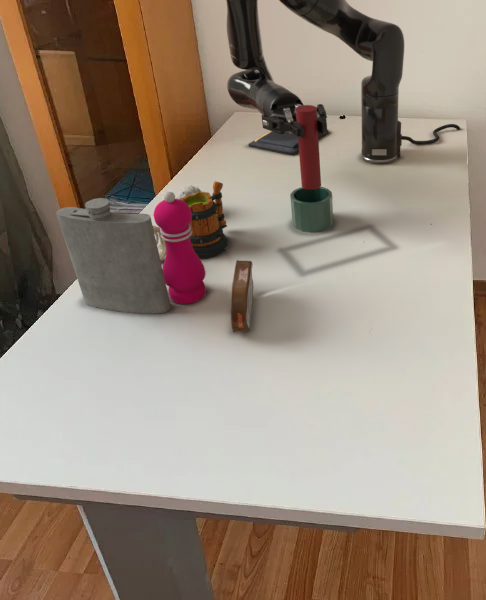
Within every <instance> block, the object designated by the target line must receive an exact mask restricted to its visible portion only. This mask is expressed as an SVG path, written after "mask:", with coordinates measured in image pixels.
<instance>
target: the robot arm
mask: <svg viewBox="0 0 486 600" xmlns="http://www.w3.org/2000/svg"><path fill="white" fill-rule="evenodd" d="M278 1H279V2H280V3H281V4H282V5H283V6H284V7H285V8H286V9H288V10H289V11H291V12H292V13H293V14H295V15H296V16H298V17H299V18H301V19H302V20H304V21H306V22H307V23H309V24H310V25H312V26H314V27H316V28H318V29H320V30H322V31H323V32H326V33H328V34H330V35H332V36H334V37H335V38H338V39H339V40H341V41H342V42H343V43H344V44H346V45H347V46H348V47H349V48H350V49H351V50H353V51H354V52H355V53H356V54H357V55H359V56H360V57H361V58H363V59H365V60H366V61H370V62H372V66H371V75H367V76H365V77H363V79H362V80H361V84H360V85H361V86H360V87H361V88H360V89H361V91H360V93H361V95H360V97H361V100H360V102H361V160H362V161H364V162H365V163H366V162H367V163H369V164H375V165H385V164H390V163H393V162H395V161H396V160H397V159H401V148H402V141H408V142H410V143H411V145H420V146H421V145H430V144H435V143H437V142H439V140H440V135H439V134H438V133H439V132H441V131H442V130H445V129H449V128H453V129H456V130H457V131H461V130H462V128H461V127H460V126H459V125H458V124H455V123H447V124H444V125H441V126H438V127H437V128H435V129H434V130H433V131H432V136H434V138H432V139H429V140H415V139H413V138H412V137H411V136H406V135H403V134H402V122H401V121H400V120H399V99H400V98H399V95H400V93H399V92H400V84H401V81H402V79H403V74H404V60H405V37H404V36H405V35H404V33H403V30H402V28H401V27H400V26H399V25H397V24H395V23H393V22H388V21H386V20H385V21H384V20H381V19H376V18H373V17H370V16H368V15H366V14H364V13H362V12H361V11H359V10H357V9H356V8H354V7H353V6H351V5H350V4H349V3H348V1H347V0H278ZM258 2H259V1H258V0H226V9H227V10H226V12H227V13H226V33H227V35H226V36H227V41H228V49H229V53H230V59H231V63H232V64H233V65H234V66H235V67H236V68H237V69H240V71H238V72H235V73H233V74H232V75H230V76H229V78H228V79H227V85H226V88H227V92H228V94H229V96H230V98H231V100H232V101H233V102H234V103H235V104H236V105H238V106H240V107H242V108H246V109H252V110H257V111H258V112H259V113H260V114H261V123H262V124H261V125H262V129H264V130H267V131H269V132H270V131H272V132H275V133H278V134H284V133H285V131H288V133H290V134H294V135H295V136H298V137H299V138H304V127H303V126H302V125H300V124H299V123H297V119H296V108H297V107H299V106H303V105H304V103H303V102H302V100H301V98H300V97H299V96H298V95H297V94H295V93H293V92H292V91H290V90H288V89H287V88H286V87H284V86H283V85H280V84H278V83H276V82H275V80H274V78H273V74H272V73H271V71H270V69H269V67H268V65H267V62H266V59H265V55H264V49H263V40H262V33H261V25H260V17H259V16H260V15H259V3H258ZM315 107H316V108H317V122H318V131H319V132H320V133H322V134H324V133H326V130H328V122H327V111H326V109H325V105H324V104H322V103H318V104H317V105H316V106H315Z"/></svg>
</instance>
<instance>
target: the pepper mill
mask: <svg viewBox="0 0 486 600" xmlns="http://www.w3.org/2000/svg"><path fill="white" fill-rule="evenodd" d="M163 199H164V200H163ZM163 199H162V201H159V202H158V203H157V205H155V208H154V210H153V219H154V222H155V225H156V226H157V227H159V228H160V233H161V238H162V239H163V240H165V243H166V256H165V257H164V262H163V265H162V270H163V274H164V279H165V283H166V286H167V287H168V296H169V299H170V300H171V301H172V302H173V303H176V304H179V305H189V304H193V303H196V302H199V301H200V300H202V299H203V298H204V297H205V296H206V293H207V289H206V284H205V282H204V280H205V278H206V269H205V265H204V264H203V261H202V259H200V258H199V257H198V256H197V254H196V253H195V251H194V249H193V247H192V245H191V241H190V236H191V234H192V231H191V226H190V224H189V223H190V222H191V219H192V213H191V209H190V207H189V206H188V204H187V203H185V202H184V201H182V200H180V199H177V198H176V194H174V192H172V191H166V192H165V193H164V195H163Z"/></svg>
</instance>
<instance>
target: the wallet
mask: <svg viewBox="0 0 486 600" xmlns="http://www.w3.org/2000/svg"><path fill="white" fill-rule="evenodd" d="M328 133H330V131H329V129H327V130H326V133H324V134H322V133H320V132H319V131H318V139H319V140H320V139H321V138H323V137H324V136H326V135H327V134H328ZM248 147H249V148H250V147H251V148H255V149H257V150H258V149H259V150H264V151H269V152H274V153H279V154H284V155H287V156H288V155H290V156H295V155H297V154H299V145H298V136H295V135H294V134H290V133H288V131H285V133H284V134H278V133H275V132H272V131H270V130H269V131H268V132H266V133H264V134H263V135H261V136H259V137H258V138H256V139H254V140H253V141H251V142H249V143H248Z"/></svg>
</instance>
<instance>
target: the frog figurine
mask: <svg viewBox="0 0 486 600" xmlns="http://www.w3.org/2000/svg"><path fill="white" fill-rule="evenodd" d="M199 191H202V190H201V189H200V188H199V186H193V185H187V186H185V187H184V188H183V189H181V190H179V192H178V193H177V195H176V199H180V198H183V197H185V196H188V195H191V194H195V193H197V192H199Z"/></svg>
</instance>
